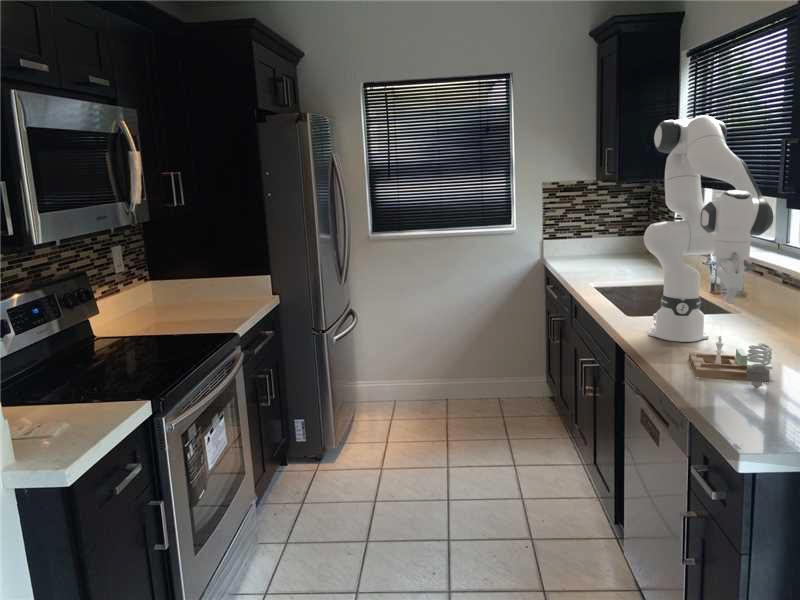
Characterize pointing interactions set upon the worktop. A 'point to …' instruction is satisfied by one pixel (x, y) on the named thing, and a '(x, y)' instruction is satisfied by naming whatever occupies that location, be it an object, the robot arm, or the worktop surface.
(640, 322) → the worktop surface
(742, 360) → the cover
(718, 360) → the chess piece
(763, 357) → the light bulb
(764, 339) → the worktop surface
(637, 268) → the worktop surface
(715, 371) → the board
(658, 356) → the worktop surface
